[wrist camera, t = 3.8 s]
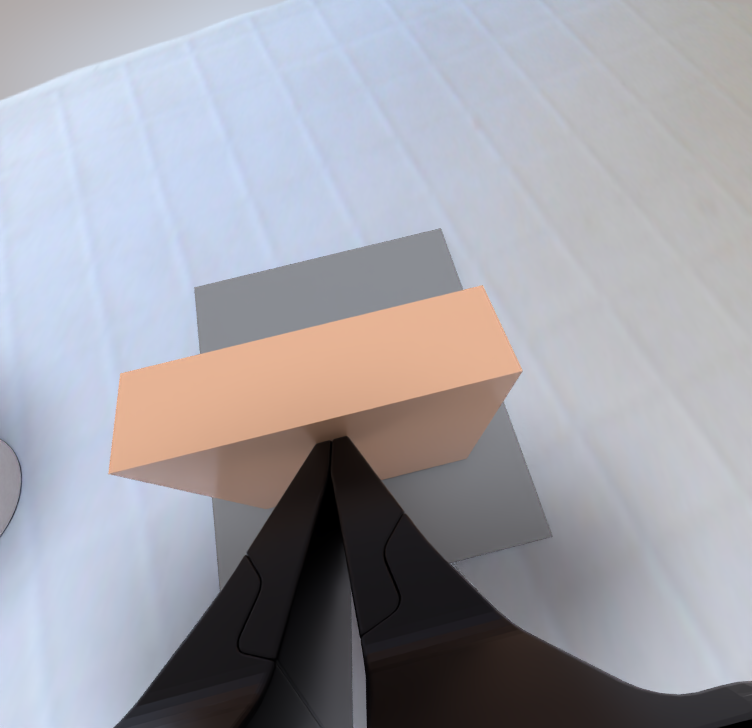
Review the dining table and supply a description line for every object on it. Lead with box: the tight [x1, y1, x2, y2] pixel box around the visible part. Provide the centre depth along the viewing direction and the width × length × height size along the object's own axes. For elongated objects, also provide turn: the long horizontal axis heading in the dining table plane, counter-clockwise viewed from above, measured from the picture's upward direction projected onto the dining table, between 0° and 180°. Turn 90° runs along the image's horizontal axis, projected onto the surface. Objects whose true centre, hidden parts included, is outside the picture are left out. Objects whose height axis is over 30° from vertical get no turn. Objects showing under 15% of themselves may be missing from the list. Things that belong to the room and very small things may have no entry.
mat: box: [194, 228, 552, 591], centre depth 17 cm, size 16×14×1 cm
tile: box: [109, 285, 522, 509], centre depth 12 cm, size 2×9×9 cm, turn 103°
